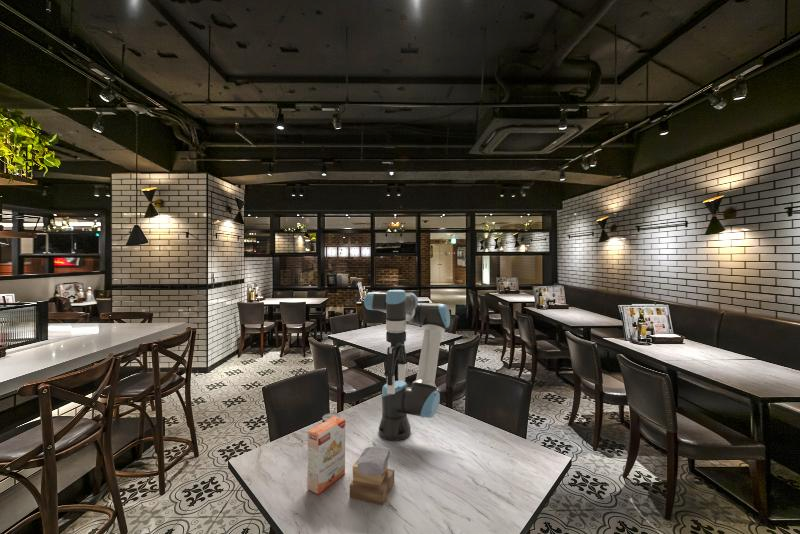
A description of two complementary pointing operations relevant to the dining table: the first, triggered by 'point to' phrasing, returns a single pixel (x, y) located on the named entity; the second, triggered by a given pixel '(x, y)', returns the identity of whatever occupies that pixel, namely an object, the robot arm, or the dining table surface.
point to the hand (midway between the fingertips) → (396, 386)
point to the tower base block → (372, 490)
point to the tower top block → (368, 478)
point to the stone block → (373, 460)
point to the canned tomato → (329, 416)
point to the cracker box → (326, 454)
